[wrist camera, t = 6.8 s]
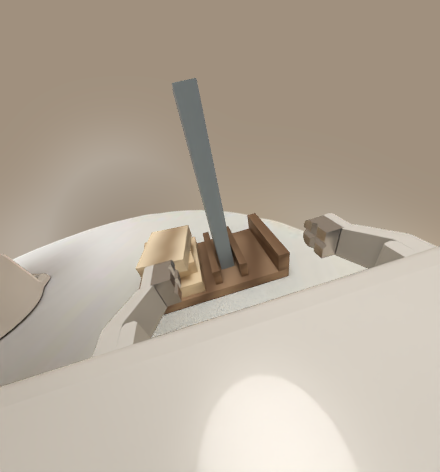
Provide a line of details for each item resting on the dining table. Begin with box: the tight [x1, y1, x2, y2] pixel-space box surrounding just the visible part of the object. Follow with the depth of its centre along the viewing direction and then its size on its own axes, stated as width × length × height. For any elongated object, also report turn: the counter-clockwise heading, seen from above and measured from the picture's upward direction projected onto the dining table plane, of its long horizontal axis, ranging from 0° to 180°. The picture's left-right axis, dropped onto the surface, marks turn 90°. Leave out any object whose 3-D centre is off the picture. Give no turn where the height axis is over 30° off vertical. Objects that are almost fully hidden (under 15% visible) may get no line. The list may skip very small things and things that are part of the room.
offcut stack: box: [136, 225, 206, 298], centre depth 27 cm, size 8×11×6 cm
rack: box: [139, 213, 290, 315], centre depth 28 cm, size 22×12×4 cm, turn 103°
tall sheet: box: [172, 78, 234, 269], centre depth 23 cm, size 2×5×22 cm, turn 13°
